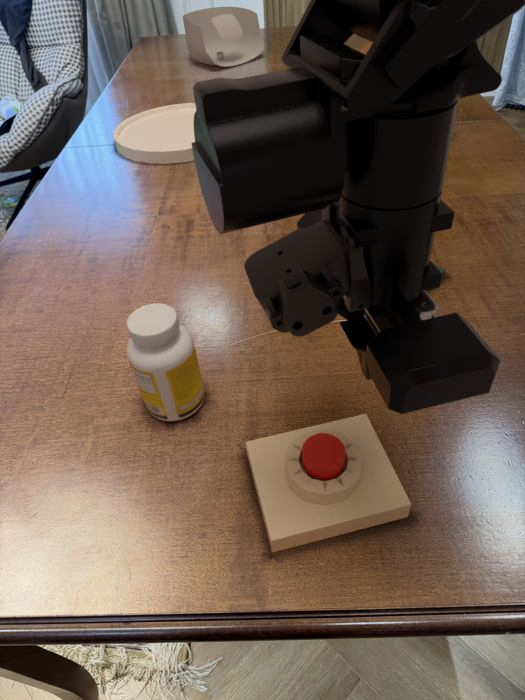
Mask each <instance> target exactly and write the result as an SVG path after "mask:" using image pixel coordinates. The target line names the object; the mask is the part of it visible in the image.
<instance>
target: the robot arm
mask: <svg viewBox="0 0 525 700" xmlns="http://www.w3.org/2000/svg"><path fill="white" fill-rule="evenodd" d="M524 7H525V0H310V1H309V3H308V5H307V7H306V9H305V11H304V12H303V15H302V16H301V19H300V20H299V21H298V24H297V26H296V27H295V30H294V32H293V34H292V36H291V38H290V40H289V41H288V43H287V45H286V47H285V49H284V51H283V53H282V55H281V62H282V64H283V65H284V67H286V68H288V69H282V70H278V71H272V72H267V73H262V74H257V75H252V76H247V77H243V78H242V77H241V78H227V77H216V78H211V79H206V80H205V79H204V80H200V81H196V82H195V83H194V85H193V86H192V93H193V99H194V103H195V105H196V112H195V114H194V137H195V142H193V143H192V150H193V156H194V166H195V170H196V171H195V172H196V174H197V178H198V183H199V187H200V190H201V193H202V197H203V200H204V203H205V204H204V205H205V206H206V210H207V211H208V212H207V213H208V216H209V218H210V220H211V222H212V225H213V226H214V228H215V230H216V232H217V233H218V234H219V235H225V234H228V233H232V232H236V231H241V230H245V229H249V228H253V227H256V226H261V225H265V224H269V223H273V222H276V221H280V220H285V219H289V218H293V217H297V216H300V215H302V216H301V217H300V218H299V220H298V221H297V222H296V229H295V230H293V231H292V232H290V233H288V234H286V235H284V236H283V237H281V238H279V239H277V240H275V241H273V242H271V243H269V244H268V245H265V246H264V247H262V248H260V249H259V250H257V251H255V252H253V253H252V254H250V255H249V256H248V257H247V258H246V259H245V261H244V265H243V268H244V271H245V274H246V277H247V279H248V281H249V284H250V287H251V290H252V293H253V295H254V297H255V298H256V300H257V302H258V303H259V305H260V306H261V308H262V309H263V311H264V313H265V314H266V316H267V318H268V320H269V323H270V326H271V327H272V329H273V330H275V331H277V332H278V333H283V334H284V333H285V334H286V333H290V334H291V335H292V336H294V337H298V338H299V337H301V338H302V337H305V336H307V335H309V334H311V333H313V332H315V331H317V330H319V329H320V328H323V327H325V326H326V325H329V324H331V323H333V322H334V321H335V320H336V319H337V316H340V317H342V318H343V319H345V320H343V321H339V325H340V327H341V328H342V331H343V332H344V334H345V336H346V338H347V340H348V341H349V343H350V345H351V347H352V348H353V349H354V350H355V351H356V354H357V359H358V362H359V366H360V369H361V373H362V374H363V377H364V378H365V380H367V381H370V380H371V381H372V382H373V385H374V387H376V390H377V391H378V393H379V395H380V397H381V399H382V401H383V402H384V405H385V406H386V408H387V409H388V410H390V411H392V412H395V413H397V414H399V415H400V414H401V415H405V414H409V413H412V412H417V411H422V410H425V409H429V408H433V407H437V406H442V405H445V404H449V403H453V402H458V401H461V400H465V399H470V398H473V397H474V398H475V397H477V396H482V395H486V394H489V393H490V392H491V388H492V386H493V383H494V380H495V377H496V374H497V371H498V368H499V366H500V364H501V359H500V358H499V357H498V355H497V354H496V353H495V351H493V349H492V348H491V347H490V346H489V345H488V344H487V342H486V341H485V340H484V338H482V336H481V335H480V334H479V332H478V331H477V330H476V329H475V328H474V326H473V325H472V324H471V323H470V322H469V320H467V319H466V318H464V317H463V316H462V315H460V314H459V313H458V312H453V313H448V314H444V315H439V316H434V315H436V314H439V310H440V306H439V305H438V304H437V303H436V301H435V299H433V297H432V296H431V295H430V294H429V293H428V291H430V290H434V289H439V288H440V287H441V282H442V279H443V278H442V273H441V272H440V271H439V270H438V269H437V267H436V266H435V265H436V264H435V263H433V262H432V261H431V256H432V251H433V245H434V241H435V240H434V239H435V234H436V232H442V231H447V230H451V229H452V228H453V224H454V219H455V213H456V212H455V211H454V210H453V209H452V208H451V207H450V206H448V204H447V203H445V202H444V201H443V200H442V194H443V188H444V182H445V177H446V171H447V165H448V161H449V155H450V148H451V142H452V136H453V130H454V126H455V119H456V115H457V109H458V102H459V100H461V99H463V98H467V97H472V96H476V95H480V94H485V93H489V92H494V91H496V90H498V88H499V87H500V86H501V84H502V83H503V77H502V75H501V73H500V72H498V71H497V70H496V69H495V67H493V65H492V64H491V63H490V62H489V61H488V60H487V59H486V58H485V57H484V55H483V54H482V52H481V50H480V48H479V44H478V41H479V40H480V39H481V38H483V37H485V36H486V35H487V34H489V33H490V32H491V31H493V30H494V29H495V28H497V27H498V26H500V25H501V24H503V23H504V22H505V21H507V20H508V19H510V18H511V17H513V16H514V15H515V14H517V13H518V12H520V11H521V10H522V9H523V8H524ZM353 35H355V36H357V37H359V38H362V39H364V40H366V41H369V42H370V41H371V42H373V43H372V45H371V47H370V48H369V50H368V52H367V53H366V55H365V54H363V53H361V52H360V50H357V49H355V48H353V47H351V46H349V45H348V44H345V43H346V42H347V41H348V40H349V39H350V38H351V37H352V36H353ZM441 278H442V279H441ZM426 290H427V291H426Z"/></svg>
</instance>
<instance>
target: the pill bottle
mask: <svg viewBox="0 0 525 700" xmlns="http://www.w3.org/2000/svg"><path fill="white" fill-rule="evenodd" d="M126 328H127V331H128V334H129V337H130V338H129V340H128V342H127V345H126V356H127V360H128V362H129V365H130V368H131V371H132V373H133V375H134V378H135V382H136V384H137V386H138V389H139V392H140V394H141V397H142V399H143V403H144V406H145V407H146V410H147V411H148V412H149V414H150V415H152V416H153V418H156V419H158V420H160V421H165V422H175V421H176V422H177V421H181V420H184V419H186V418H188V417H190V416H192V415H193V414H195V413H196V412H197V411H198V410H199V409H200V408H201V407H202V405H203V403H204V400H205V396H206V395H205V394H206V391H205V385H204V381H203V377H202V373H201V368H200V364H199V360H198V355H197V350H196V346H195V343H194V338H193V336H192V334H191V332H190V331H189V330H188V328H186V327H185V326H184V325H182V324H180V320H179V317H178V314H177V311H176V310H175V308H174V307H172V306H170V304H166V303H161V302H160V303H157V302H156V303H149V304H146V305H142V306H140V307H138V308H137V309H135V310H134V311H133V312H132V313H130V315H128V318H127V320H126Z"/></svg>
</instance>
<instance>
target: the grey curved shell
mask: <svg viewBox="0 0 525 700" xmlns="http://www.w3.org/2000/svg"><path fill="white" fill-rule="evenodd" d="M182 22H183V28H184V35H185V40H186V45H187V49H188V52H189V55H190V57H192V59H193V60H195V61H197V62H198V63H201V64H205V65H210V66H217V67H234V66H240V65H242V64H245V63H248V62H250V61H252V60H254V59H255V58H256V57H258V56H259V55H260V54H261V53H262V52H263V51H264V48H265V40H264V38H263V36H262V35H261V28H260V23H259V22H260V21H259V16H258V13H256V12H255V11H253V10H251V9H248V8H244V7H239V6H215V7H208V8H202V9H198V10H193V11H190V12H188V13H185V14H184V15H183V16H182Z"/></svg>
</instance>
